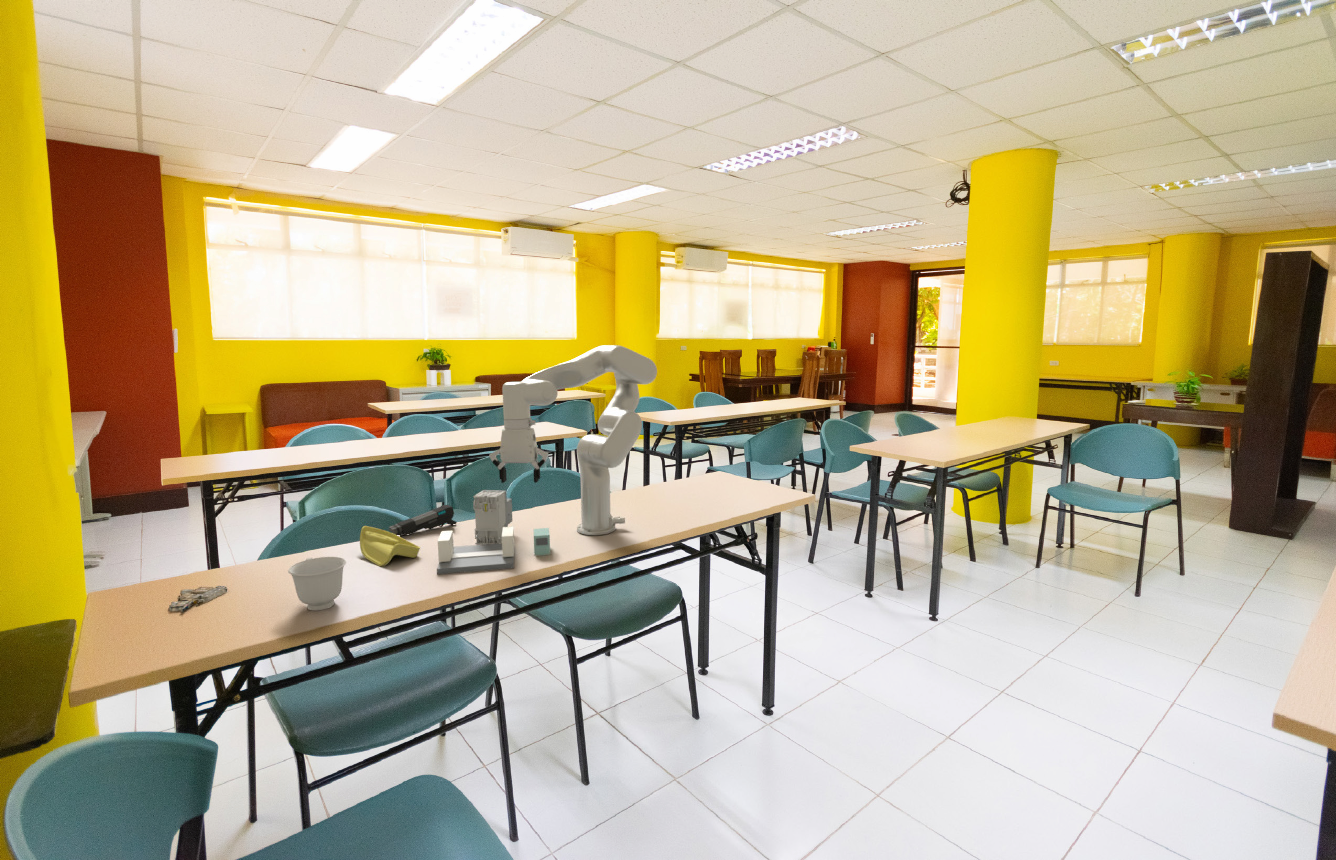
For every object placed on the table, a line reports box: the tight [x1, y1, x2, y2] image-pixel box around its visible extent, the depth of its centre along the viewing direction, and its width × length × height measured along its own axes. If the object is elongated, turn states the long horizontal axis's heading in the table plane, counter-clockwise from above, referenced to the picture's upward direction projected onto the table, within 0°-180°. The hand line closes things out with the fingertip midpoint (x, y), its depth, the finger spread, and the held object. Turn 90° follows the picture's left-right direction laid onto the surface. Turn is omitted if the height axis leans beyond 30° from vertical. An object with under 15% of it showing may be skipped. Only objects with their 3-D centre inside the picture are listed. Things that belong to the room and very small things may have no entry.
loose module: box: [533, 527, 551, 557], centre depth 188 cm, size 4×7×6 cm, turn 13°
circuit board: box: [168, 585, 228, 614], centre depth 154 cm, size 12×15×2 cm
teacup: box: [287, 556, 347, 611], centre depth 151 cm, size 12×15×10 cm
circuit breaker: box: [472, 489, 513, 545], centre depth 201 cm, size 8×14×15 cm, turn 174°
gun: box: [388, 504, 457, 536], centre depth 208 cm, size 4×20×10 cm, turn 132°
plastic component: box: [359, 525, 421, 567], centre depth 186 cm, size 20×7×10 cm
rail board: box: [436, 526, 516, 575], centre depth 181 cm, size 20×18×8 cm
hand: (520, 481), depth 188 cm, fingers open, 9 cm apart
